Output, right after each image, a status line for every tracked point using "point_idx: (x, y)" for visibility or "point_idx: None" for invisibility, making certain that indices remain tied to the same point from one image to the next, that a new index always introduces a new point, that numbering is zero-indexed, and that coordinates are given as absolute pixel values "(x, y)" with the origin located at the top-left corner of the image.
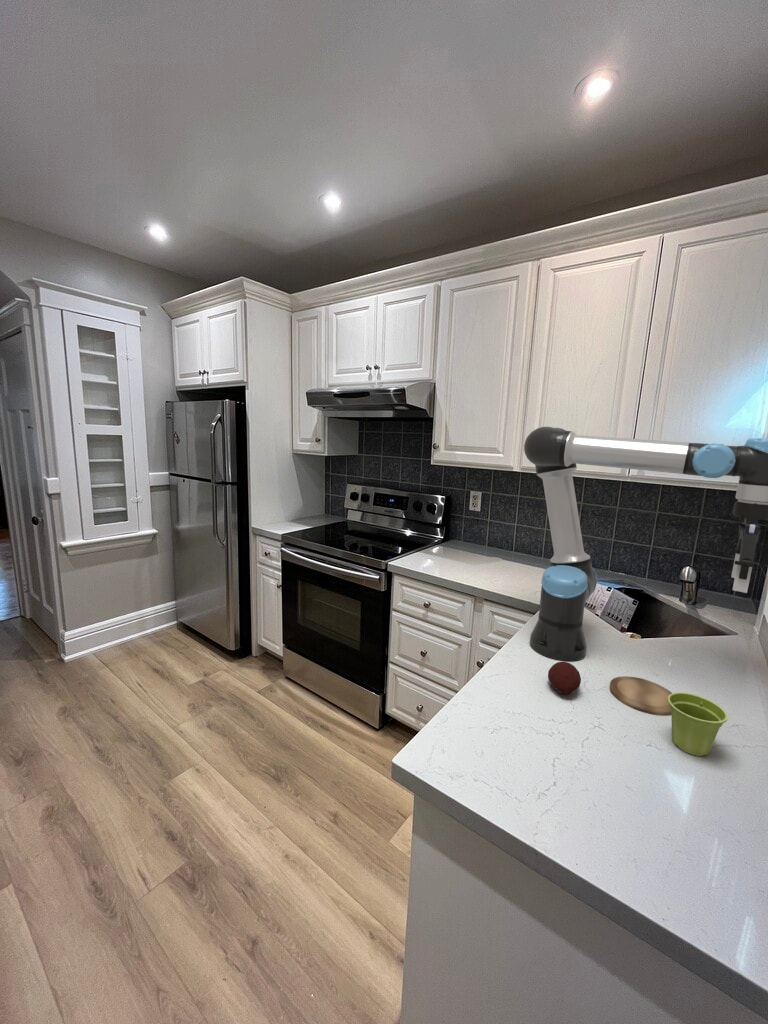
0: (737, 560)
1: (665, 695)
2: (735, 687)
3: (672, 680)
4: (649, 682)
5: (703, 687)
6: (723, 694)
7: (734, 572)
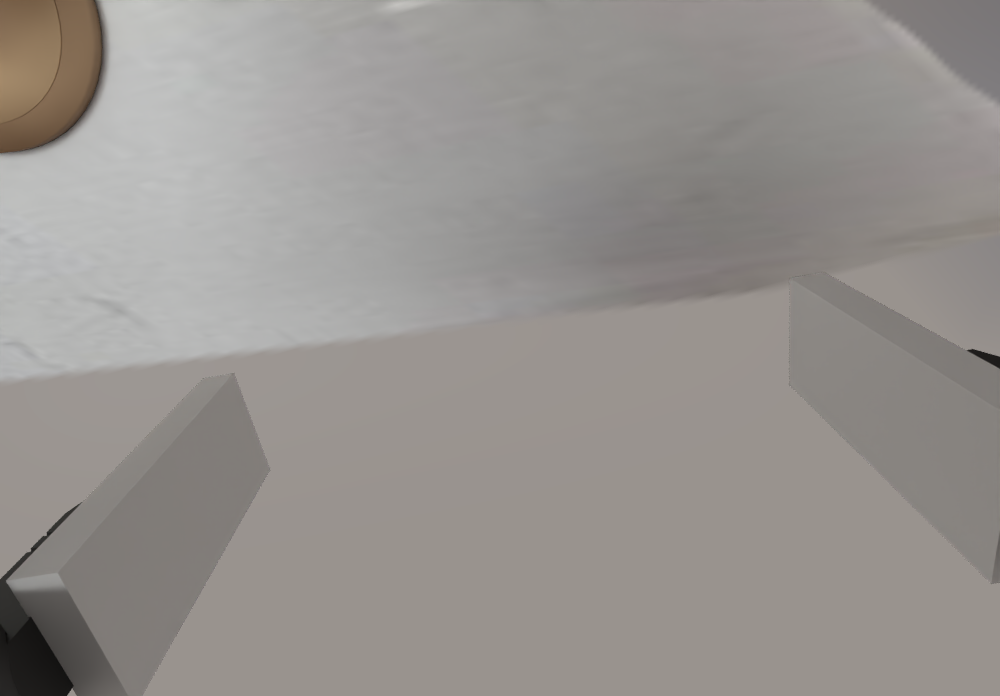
0: (925, 402)
1: (21, 92)
2: (413, 263)
3: (238, 66)
4: (67, 2)
5: (297, 177)
6: (308, 243)
7: (821, 319)
